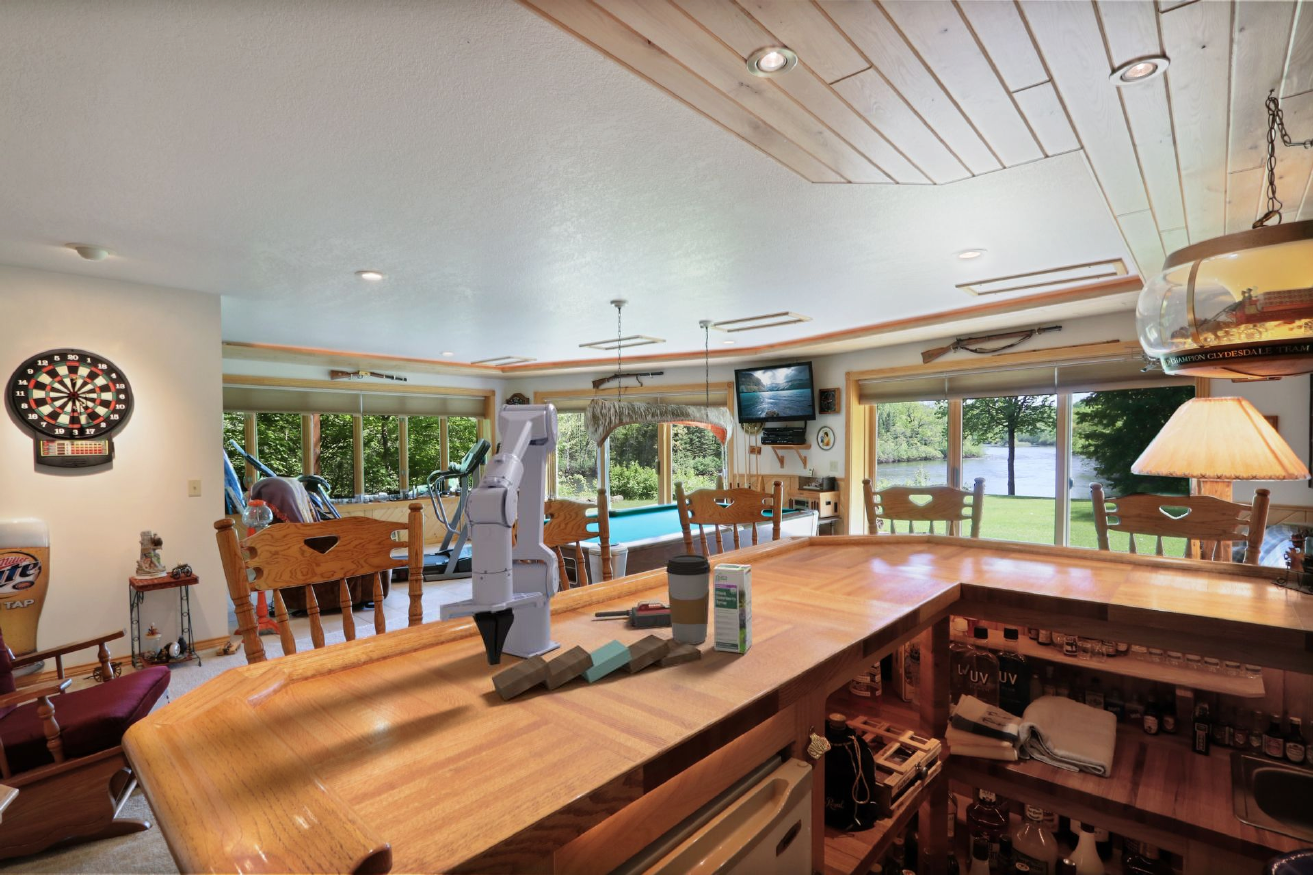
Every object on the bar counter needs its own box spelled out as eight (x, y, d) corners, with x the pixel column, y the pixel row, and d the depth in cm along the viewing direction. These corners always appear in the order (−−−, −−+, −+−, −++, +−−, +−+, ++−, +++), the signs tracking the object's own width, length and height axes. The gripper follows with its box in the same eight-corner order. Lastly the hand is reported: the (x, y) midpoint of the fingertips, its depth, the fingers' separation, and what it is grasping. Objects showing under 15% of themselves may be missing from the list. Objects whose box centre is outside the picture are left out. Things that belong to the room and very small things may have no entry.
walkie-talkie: (687, 613, 130) (594, 619, 127) (687, 593, 130) (594, 598, 127) (696, 625, 122) (597, 632, 118) (696, 603, 122) (596, 610, 119)
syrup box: (713, 650, 106) (711, 567, 106) (722, 640, 111) (721, 561, 111) (745, 654, 104) (743, 569, 104) (753, 643, 109) (751, 563, 109)
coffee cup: (709, 647, 107) (707, 563, 108) (663, 645, 109) (661, 562, 109) (714, 633, 116) (713, 554, 116) (671, 631, 117) (670, 553, 117)
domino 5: (662, 658, 98) (700, 650, 102) (647, 649, 103) (685, 642, 106) (662, 671, 98) (701, 662, 102) (647, 661, 103) (685, 653, 106)
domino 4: (629, 661, 96) (667, 641, 100) (614, 653, 100) (651, 634, 104) (632, 673, 96) (670, 652, 100) (617, 664, 100) (654, 644, 104)
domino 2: (546, 679, 90) (590, 654, 93) (535, 668, 94) (578, 644, 98) (550, 690, 90) (594, 665, 93) (539, 679, 94) (581, 656, 98)
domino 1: (500, 688, 86) (548, 663, 90) (491, 677, 91) (537, 653, 94) (505, 701, 87) (552, 675, 90) (495, 689, 91) (541, 665, 95)
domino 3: (586, 671, 92) (628, 648, 96) (574, 661, 97) (615, 639, 100) (590, 683, 93) (632, 659, 96) (578, 672, 97) (618, 650, 101)
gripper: (444, 580, 82) (445, 681, 82) (548, 568, 88) (550, 662, 88) (437, 571, 88) (438, 664, 88) (535, 560, 95) (536, 647, 94)
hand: (493, 662), depth 88 cm, fingers closed
